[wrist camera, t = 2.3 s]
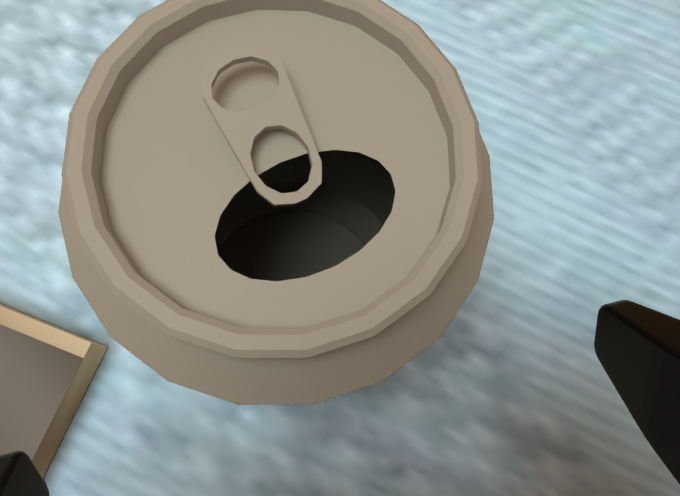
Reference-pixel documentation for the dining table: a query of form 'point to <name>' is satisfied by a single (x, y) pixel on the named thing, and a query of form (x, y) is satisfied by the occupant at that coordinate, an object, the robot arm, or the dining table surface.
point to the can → (275, 195)
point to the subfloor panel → (40, 383)
